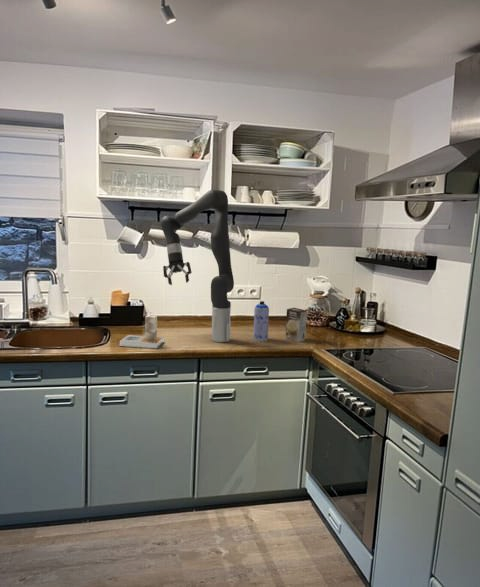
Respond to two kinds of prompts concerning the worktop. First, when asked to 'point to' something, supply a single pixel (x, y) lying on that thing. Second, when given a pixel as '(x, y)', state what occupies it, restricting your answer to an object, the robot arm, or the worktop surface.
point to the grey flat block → (140, 342)
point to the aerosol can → (261, 322)
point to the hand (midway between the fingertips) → (179, 283)
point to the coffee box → (296, 324)
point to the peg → (151, 327)
